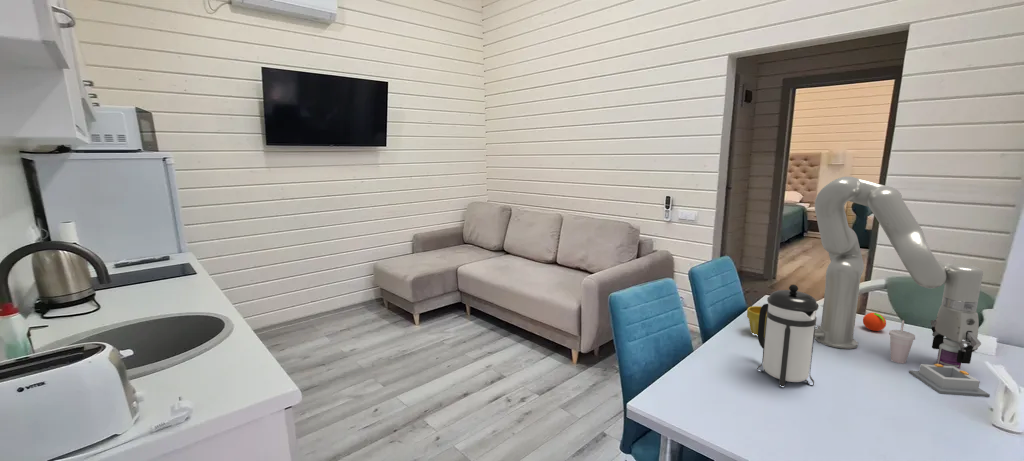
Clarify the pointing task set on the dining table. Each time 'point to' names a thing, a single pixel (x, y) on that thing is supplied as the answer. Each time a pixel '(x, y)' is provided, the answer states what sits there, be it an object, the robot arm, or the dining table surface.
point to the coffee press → (788, 334)
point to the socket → (949, 380)
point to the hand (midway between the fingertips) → (950, 355)
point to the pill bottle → (948, 353)
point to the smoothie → (900, 344)
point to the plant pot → (754, 318)
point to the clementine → (874, 321)
